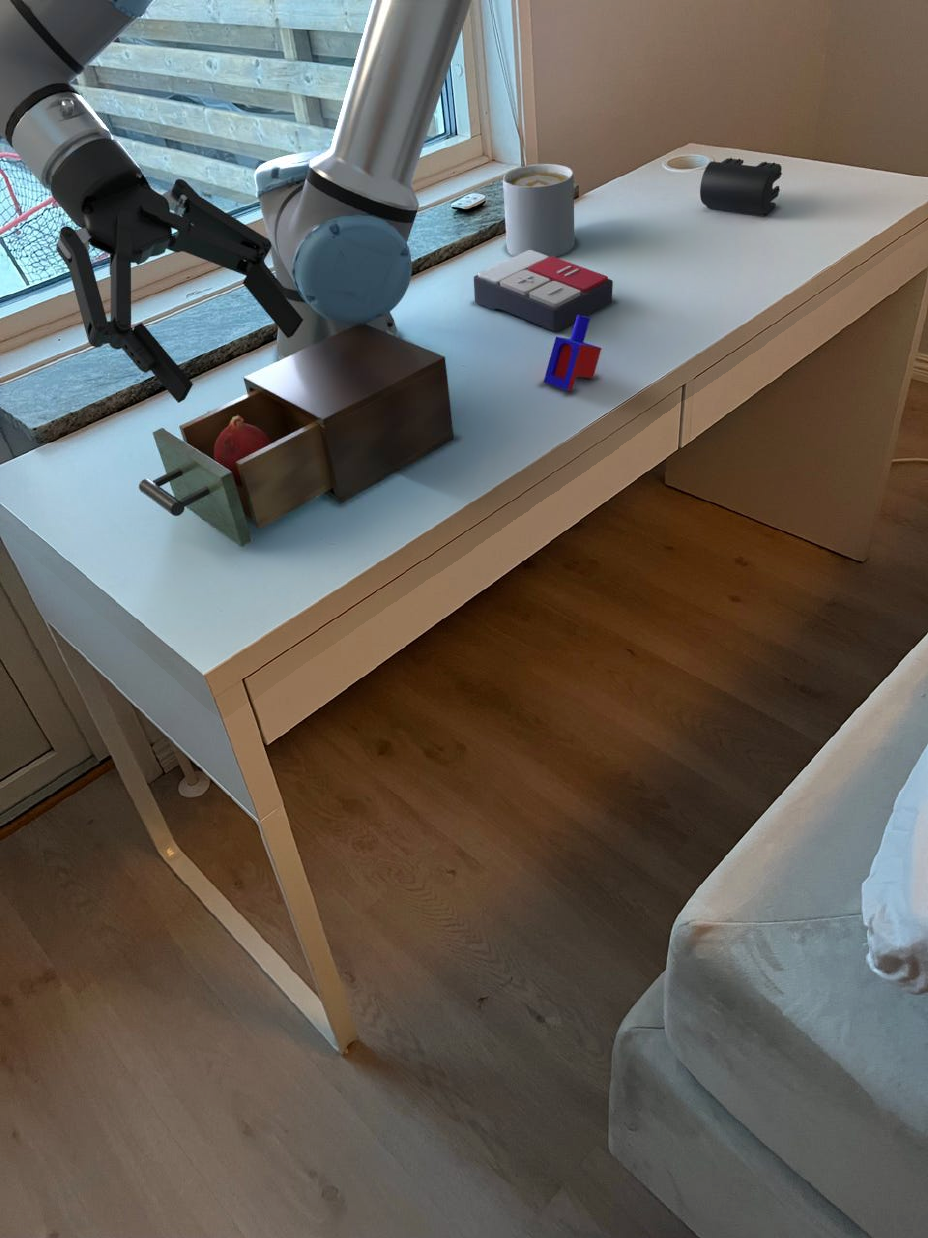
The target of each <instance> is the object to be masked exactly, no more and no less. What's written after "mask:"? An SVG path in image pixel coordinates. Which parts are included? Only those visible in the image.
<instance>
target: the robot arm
mask: <svg viewBox="0 0 928 1238" xmlns="http://www.w3.org/2000/svg"><path fill="white" fill-rule="evenodd" d="M154 2H155V0H0V135H1V136H2V137H3V138H4V140H6V142H7V143H8V144H9V146H10V147H11V148H12V149H13V151H14V152H15V153H16V154H17V156H18V157H19V158H20V159H21V161H22V162H23V163H24V164H25V166H26V167H27V168H28V169H29V171H30V172H31V173H32V174H33V176H34V177H35V178H36V179H37V181H38V182H39V183H40V184H41V186H42V187H43V188H44V189H45V190H48V191H50V194H51V196H52V198H53V199H54V200H55V201H56V203H57V204H58V205H59V207H61V209H62V210H63V211H64V212H65V214H66V215H67V216H68V217H69V218H70V219H71V221H72V222H73V223H74V224H75V225H76V226H77V227H78V229H74V228H72V227H71V226H66V225H65V226H64V225H63V226H62V227H61V228H60V231H59V235H58V240H57V243H56V248H55V250H56V252H57V254H58V255H59V256H60V258H61V260H63V262H64V264H65V265H66V266H67V268H68V271H69V274H70V278H71V282H72V285H73V289H74V293H75V296H76V300H77V304H78V308H79V311H80V315H81V318H82V322H83V325H84V329H85V333H86V334H85V335H86V338H87V341H88V343H89V345H91V346H92V347H93V348H101V347H102V346H103V345H104V344H105V345H106V344H109V346H110V347H111V348H112V349H115V350H121V349H122V350H123V351H124V353H125V354H126V355H127V356H128V357H129V359H130V360H131V361H132V362H133V364H135V366H136V367H137V368H138V369H139V370H140V371H141V372H143V373H145V374H146V373H149V372H150V371H151V372H152V374H153V375H154V376H155V377H156V379H158V381H159V382H160V383H161V385H163V387H164V388H165V389H166V390H167V392H168V393H169V394H170V396H171V397H172V398H173V399H174V400H175V401H176V403H178V404H180V403H181V402H183V401H184V400H186V398H187V396H188V394H189V393H190V391H191V389H192V387H193V385H194V384H193V382H192V381H191V380H190V379H189V377H188V376H187V375H186V374H185V373H184V371H183V370H182V369H181V367H180V366H178V364H177V363H176V362H175V360H174V359H173V358H172V357H171V356H170V355H169V353H168V352H167V351H166V350H165V349H164V347H163V345H161V344H160V342H159V341H158V340H157V339H156V337H154V335H153V333H151V332H150V330H149V329H148V328H147V327H146V326H145V325H144V323H143V322H141V323H138V324H136V325H134V328H132V264H136V265H137V266H139V265H141V264H144V263H146V261H147V260H149V258H150V257H158V256H161V255H162V254H165V253H166V250H168V251H171V252H174V253H181V252H184V253H186V254H189V255H192V256H195V257H196V258H199V259H201V260H204V261H207V262H209V263H212V264H215V265H217V266H219V267H220V266H221V267H222V268H225V269H228V270H230V271H233V272H236V273H238V274H240V275H244V276H245V277H244V279H243V281H242V284H243V285H244V287H245V288H246V289H247V290H248V292H249V293H250V294H251V296H253V298H254V299H255V300H256V301H257V303H258V304H259V305H260V306H261V308H262V309H263V310H264V311H265V313H266V314H267V315H268V316H269V317H270V319H271V320H272V321H273V323H274V324H275V325H276V326H277V336H276V349H277V353H278V357H279V361H280V360H282V359H284V358H286V357H288V356H290V355H293V354H295V353H297V352H299V351H301V350H303V349H306V348H308V347H310V346H312V345H314V344H316V343H318V342H321V341H323V340H325V339H327V338H329V337H331V336H333V335H336V334H338V333H340V332H342V331H344V330H346V329H349V328H351V327H353V326H355V325H359V324H367V325H369V326H372V327H374V328H376V329H379V330H381V331H384V332H386V333H389V334H391V335H393V336H396V337H398V338H399V335H398V327H397V325H396V322H395V319H394V317H393V314H392V313H391V311H393V310H394V309H395V308H396V307H397V306H398V305H399V303H400V302H401V301H402V300H403V298H404V296H405V295H406V293H407V290H408V289H409V285H410V283H411V279H412V273H413V272H412V271H413V264H412V263H413V262H412V254H411V251H410V247H409V245H408V241H409V238H410V235H411V232H412V229H413V226H414V223H415V220H416V217H417V213H418V210H419V207H420V203H419V200H418V198H417V196H416V193H415V191H414V188H413V183H412V181H413V178H414V175H415V172H416V169H417V166H418V163H419V160H420V157H421V153H422V151H423V148H424V145H425V143H426V139H427V136H428V132H429V130H430V127H431V123H432V121H433V118H434V115H435V113H436V109H437V105H438V103H439V100H440V97H441V94H442V91H443V89H444V85H445V82H446V79H447V76H448V73H449V70H450V66H451V64H452V61H453V58H454V54H455V51H456V48H457V47H458V46H457V45H458V43H459V41H460V36H461V34H462V31H463V28H464V24H465V22H466V18H467V15H468V14H469V13H468V12H469V10H470V7H471V3H472V2H473V1H472V0H372V2H371V6H370V9H369V13H368V17H367V21H366V23H365V27H364V31H363V34H362V38H361V40H360V45H359V48H358V51H357V55H356V58H355V62H354V65H353V70H352V72H351V75H350V80H349V83H348V86H347V90H346V94H345V97H344V101H343V104H342V108H341V111H340V114H339V118H338V122H337V124H336V128H335V132H334V136H333V139H332V142H331V146H330V148H328V149H318V150H311V151H305V152H304V151H303V152H298V153H293V154H289V155H284V156H280V157H277V158H274V159H271V160H268V161H266V162H264V163H262V164H261V165H259V166H258V167H257V169H256V170H255V172H254V183H255V188H256V192H255V197H256V199H258V201H259V206H260V210H261V215H262V219H263V224H264V228H265V233H266V237H265V236H264V235H262V234H261V233H259V232H257V231H256V230H254V229H253V228H251V227H249V226H248V225H246V224H245V223H244V222H241V221H240V220H238V219H237V218H235V217H233V216H232V215H230V214H229V213H227V212H226V211H224V210H223V209H222V208H220V207H218V206H216V205H214V204H213V203H211V202H210V201H208V200H207V199H205V198H203V197H201V196H200V195H199V194H198V192H197V191H195V190H194V189H193V188H192V186H191V185H189V183H188V182H187V181H186V180H184V179H182V178H178V179H177V178H176V179H175V181H174V184H173V186H172V188H171V189H169V190H167V191H166V192H164V193H160V192H158V191H156V190H155V189H154V188H153V187H151V185H150V183H149V182H148V180H147V178H146V175H145V173H144V171H143V170H142V168H141V167H140V166H139V165H138V164H137V162H136V161H135V159H133V157H132V156H131V155H130V154H129V152H128V151H127V150H126V149H125V147H124V146H123V145H122V143H120V142H119V141H118V140H117V139H114V136H113V134H112V133H111V131H110V130H109V128H108V127H107V126H106V124H105V123H104V122H103V121H102V120H101V118H100V117H99V116H98V115H97V114H96V112H95V111H94V110H93V108H91V106H90V105H89V104H88V103H87V101H86V100H85V99H84V98H83V97H82V95H81V94H80V93H79V91H78V90H77V89H76V88H75V87H74V85H73V83H72V82H73V81H74V80H75V79H76V78H77V77H78V76H80V75H81V74H83V72H84V71H85V70H86V68H87V67H88V66H89V65H90V64H91V63H92V62H93V61H95V59H96V58H98V57H99V56H100V55H101V54H102V53H103V52H104V51H105V50H106V49H107V48H108V47H110V46H111V44H113V42H115V41H116V40H117V38H119V37H120V36H121V35H122V34H123V33H124V32H125V31H126V30H127V29H128V28H129V27H130V26H131V25H133V24H134V22H135V21H137V20H138V19H139V18H140V19H142V18H143V17H144V16H146V13H147V9H148V8H150V6H151V5H152V4H153V3H154ZM172 211H173V212H172ZM173 230H175V231H176V233H175V235H173ZM91 247H92V248H95V249H97V250H100V251H102V252H104V253H106V254H108V255H109V276H110V320H109V321H108V319H107V315H106V311H105V308H104V304H103V300H102V296H101V293H100V289H99V285H98V281H97V278H96V275H95V270H94V267H93V264H92V260H91V256H90V254H89V252H90V249H91ZM269 252H270V255H271V260H272V265H273V270H274V273H273V271H271V269H270V268H269V267H268V266H267V264H266V261H265V259H266V258H267V256H268V254H269ZM274 274H275V275H274Z"/></svg>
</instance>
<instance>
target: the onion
mask: <svg viewBox="0 0 928 1238" xmlns="http://www.w3.org/2000/svg"><path fill="white" fill-rule="evenodd" d="M243 422H244V420H243V418H242V417H240V416H239V415H238V416H235V417H233V418H232V420H231V421H230V424H229V426H228V427H226V428H225V429H224V430H223V431H222V432H221V434H220V436H219V437H218V439H217V440H216V443H215V447H214V461H216V462H217V463H219V464H220V465H222V466H223V467H225V468H226V469H228V470H230V471H231V472H232V474H233V478H234V481H235V484H236V486H238V487H242V488H243V485H242V481H241V478H240V474H239V471H238V467H237V464H236V462H237V461H239V460H241V459H243V458H245V457H246V456H248V455H250V454H252V453H254V452H256V451H258V450H260V449H262V448H264V447H266V446H268V445H270V444H272V442H271V440H270V439H269V438H268V436H267V435H266V434H264V433H263V432H262V431H261V430H260V429H258V428H257V427H255V426H253V425H249V424H246V423H243Z"/></svg>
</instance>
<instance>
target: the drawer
mask: <svg viewBox="0 0 928 1238" xmlns="http://www.w3.org/2000/svg"><path fill="white" fill-rule="evenodd" d="M238 415H239V416H240V417H242V418H243V420H244V422H243V423H246V424H249V425H253V426H255V427H257V428H258V429H260V430H261V431H262V432H263V433H264V434H266V435H267V436H268V438H269V439H270V440H271V442H272V444H270V445H268V446H266V447H264V448H262V449H260V450H258V451H256V452H254V453H252V454H250V455H248V456H246V457H245V458H243V459H241V460H239V461H237V462H236V464H237V467H238V471H239V474H240V478H241V481H242V485H243V488H242V487H238V486H236V484H235V481H234V478H233V474H232V472H231V471H230V470H228V469H226V468H225V467H223V466H222V465H220V464H219V463H217V462H216V461H214V447H215V443H216V440H217V439H218V437H219V436H220V434H221V432H222V431H223V430H224V429H225V428H226V427H228V426H229V424H230V421H231V420H232V418H233V417H235V416H238ZM178 429H179V431H180V433H181V437H182V439H181V438H180V437H178V436H177V435H175V434H174V433H172V432H171V431H168V429H166V428H164V427H161V428H159V429H157V430H155V431H152V436H153V439H154V442H155V444H156V447H157V450H158V454H159V456H160V459H161V461H162V465H163V468H164V470H165V471H164V472H165V473H164V474H163V475H161V476H159V477H157V478H155V479H153V480H151V479H149V478H146V479H142V480H141V481H140V483H138V490H139V491H140V493H142V494H143V495H145V496H146V497H148V498H149V499H151V500H152V501H153V502H154V503H156V504H157V505H158V506H160V507H161V508H163V509H164V510H166V512H168V513H169V514H171V515H172V516H174V517H179V516H181V515H183V513H184V512H185V508H187V509H188V510H190V511H191V512H192V513H194V514H195V515H197V516H198V517H200V518H201V519H202V520H204V522H206V523H208V524H209V525H210V526H212V527H214V528H215V529H216V530H218V531H219V532H220V533H222V534H223V535H225V536H226V537H228V538H229V539H230V540H231V541H233V542H234V543H236V544H237V545H239V546H240V547H242V548H243V547H244V546H247V545H249V544H250V543H252V542H253V539H252V535H251V532H250V528H249V526H248V523H249V524H250V525H252V526H253V527H255V528H256V529H257V530H261V529H263V528H264V527H266V526H268V525H269V524H271V523H273V522H275V521H276V520H279V519H280V518H282V517H284V516H286V515H287V514H289V513H292V511H295V510H296V509H298V508H300V507H301V506H304V505H306V504H307V503H309V502H311V501H313V500H314V499H316V498H318V497H320V496H321V495H324V493H325V492H327V491H328V490H330V489H332V488H333V484H332V479H331V475H330V470H329V466H328V461H327V456H326V452H325V447H324V442H323V438H322V433H321V428H320V424H318V423H317V422H315V421H313V420H311V419H309V418H307V417H305V416H303V415H302V414H300V413H298V412H296V411H294V410H292V409H290V408H288V407H287V406H285V405H283V404H281V403H279V402H277V401H275V400H274V399H272V398H270V397H268V396H266V395H264V394H262V393H260V392H259V391H257V390H254V391H252V392H250V393H246V394H244V395H242V396H239V397H238V398H235V399H233V400H231V401H229V402H227V403H225V404H223V405H221V406H218V407H216V408H214V409H212V410H210V411H207V412H206V413H204V414H202V415H199V416H198V417H195V418H193V419H191V420H188V421H187V422H184V423H183V424H180V425H179V427H178ZM167 483H169V485H170V487H171V491H172V493H173V494H171V493H169V492H168V491H167V490H165V489H164V488H162V486H164V485H165V484H167Z"/></svg>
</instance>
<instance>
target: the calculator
mask: <svg viewBox="0 0 928 1238" xmlns="http://www.w3.org/2000/svg"><path fill="white" fill-rule="evenodd" d="M613 284H614V282H613V280H612V279H610V278H609V276H608V275H605V274H603V273H600V272H597V271H594V270H592V269H589V268H586V267H583V266H580V265H578V264H575V263H573V262H570V261H566V260H564V259H561V258H558V257H549V256H546V255H544V254H541V253H538V252H536V251H533V250H528V251H526V252H524V253H521V254H519V255H517V256H512V257H511V258H508V259H507V260H504V261H503V262H500V263H498V264H496V265H493V266H491V267H490V268H486V269H485V270H483V271H480V272H478V273H477V274H476V275H474V276H473V292H474V293H473V294H474V303H476V304H478V305H481V306H482V307H485V308H487V309H490V310H492V311H495V310H497V309H499V310H503V311H504V312H507V313H509V314H511V315H513V316H517V317H518V318H521V319H523V320H525V321H528V322H530V323H532V324H535V325H538V326H540V327H542V328H545V329H546V330H549V331H552V332H560V331H561V330H564V329H565V328H567V327H569V326H571V325H573V324H575V321H576V318H577V315H581V316H585V317H588V316H589V315H591V314H594V313H595V312H597V311H598V310H600V309H602V308H604V307H606V306H608V305H611V303H612V302H613V287H614V285H613Z"/></svg>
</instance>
